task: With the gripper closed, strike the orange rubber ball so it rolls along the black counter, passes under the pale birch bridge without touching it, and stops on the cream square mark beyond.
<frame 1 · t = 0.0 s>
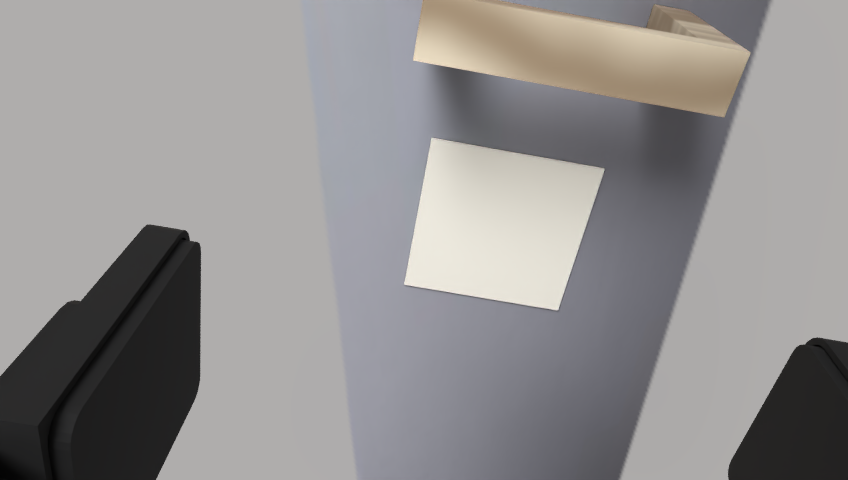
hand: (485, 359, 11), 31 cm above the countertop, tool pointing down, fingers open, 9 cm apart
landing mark: (498, 228, 45), on the countertop
bridge: (554, 14, 38), on the countertop
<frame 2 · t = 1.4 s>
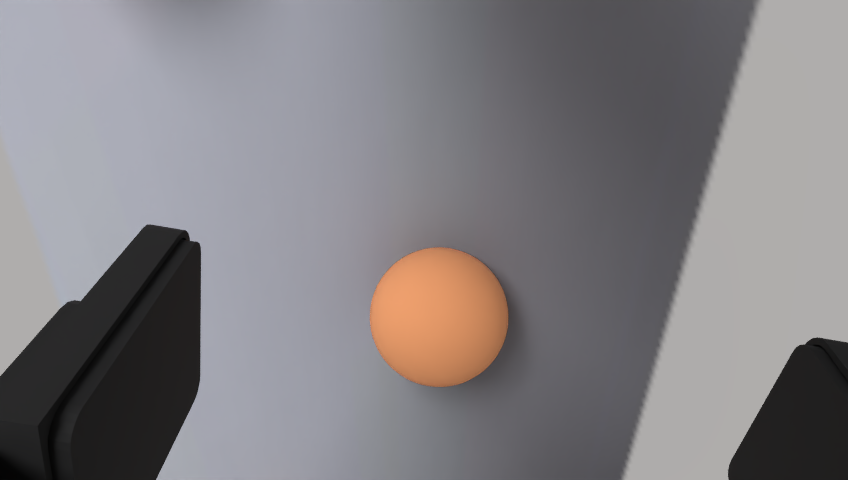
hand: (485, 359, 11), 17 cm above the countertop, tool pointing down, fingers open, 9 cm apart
ball: (439, 316, 27), on the countertop
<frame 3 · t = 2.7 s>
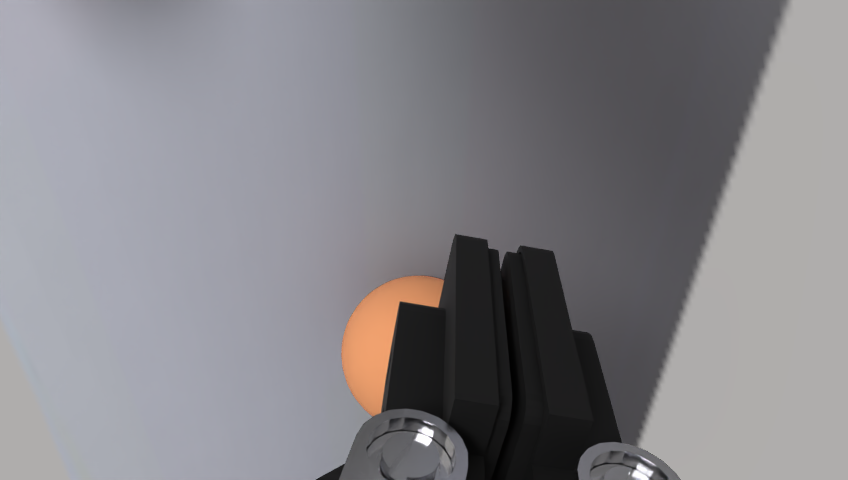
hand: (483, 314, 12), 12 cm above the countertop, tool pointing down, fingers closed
ball: (418, 352, 24), on the countertop
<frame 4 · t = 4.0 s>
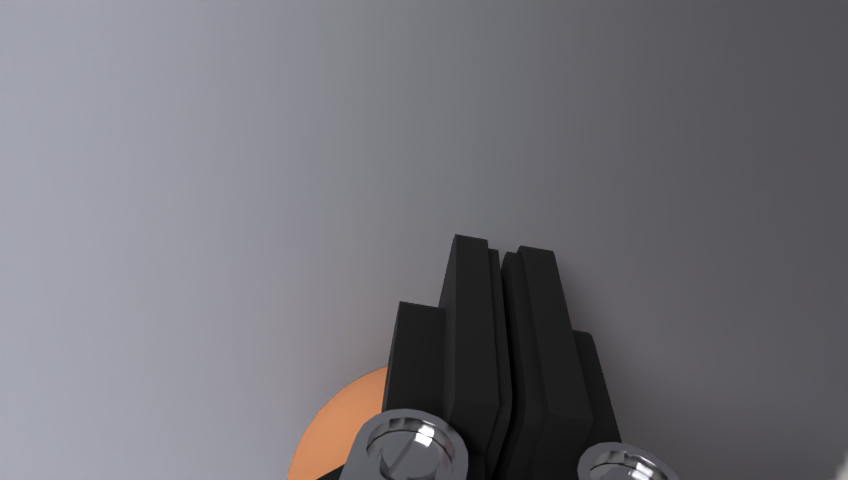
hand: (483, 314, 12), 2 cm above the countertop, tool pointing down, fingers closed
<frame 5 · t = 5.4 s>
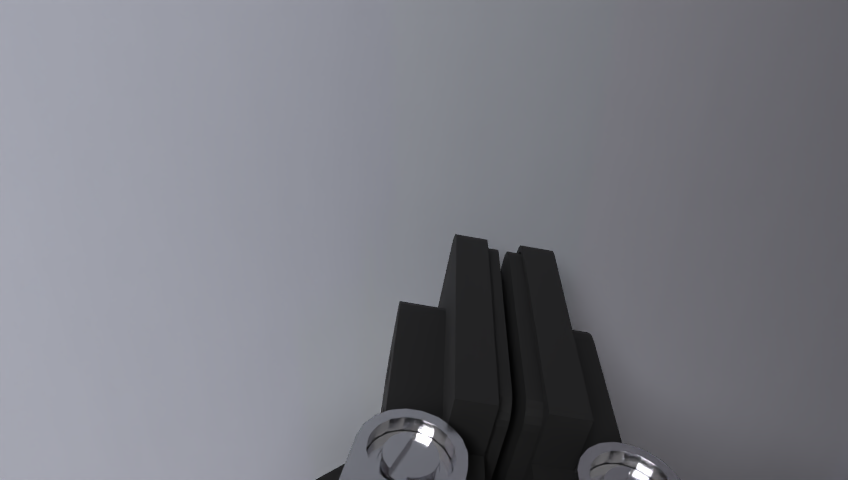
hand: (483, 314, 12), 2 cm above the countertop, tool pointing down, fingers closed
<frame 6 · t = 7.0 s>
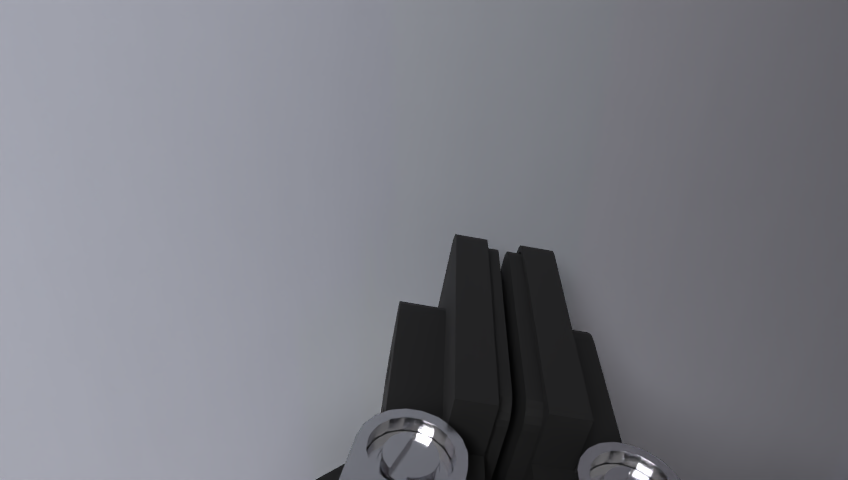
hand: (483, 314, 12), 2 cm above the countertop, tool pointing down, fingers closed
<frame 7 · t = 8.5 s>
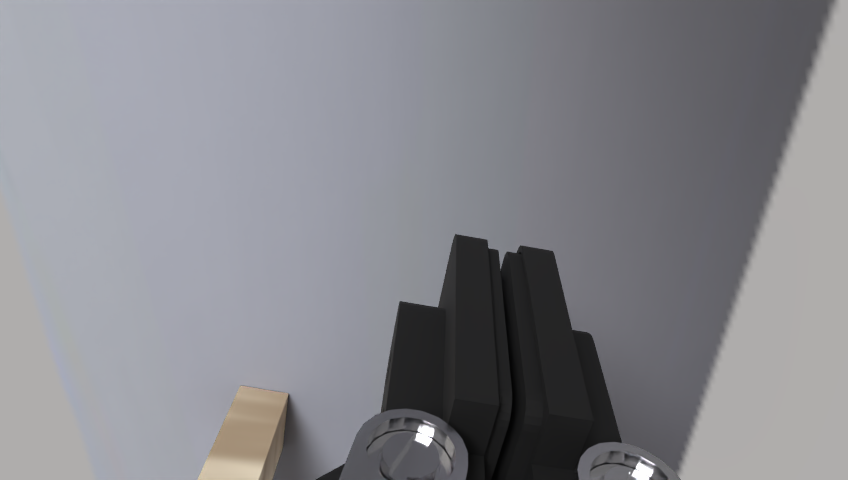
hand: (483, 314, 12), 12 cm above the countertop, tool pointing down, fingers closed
bridge: (408, 441, 29), on the countertop
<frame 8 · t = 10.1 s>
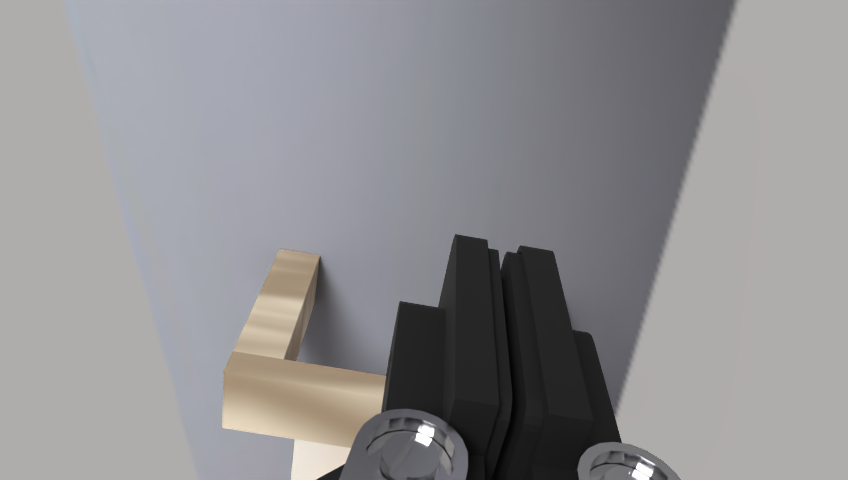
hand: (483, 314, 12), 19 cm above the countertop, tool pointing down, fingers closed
bridge: (418, 297, 35), on the countertop
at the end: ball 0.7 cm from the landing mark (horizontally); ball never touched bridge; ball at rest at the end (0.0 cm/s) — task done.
